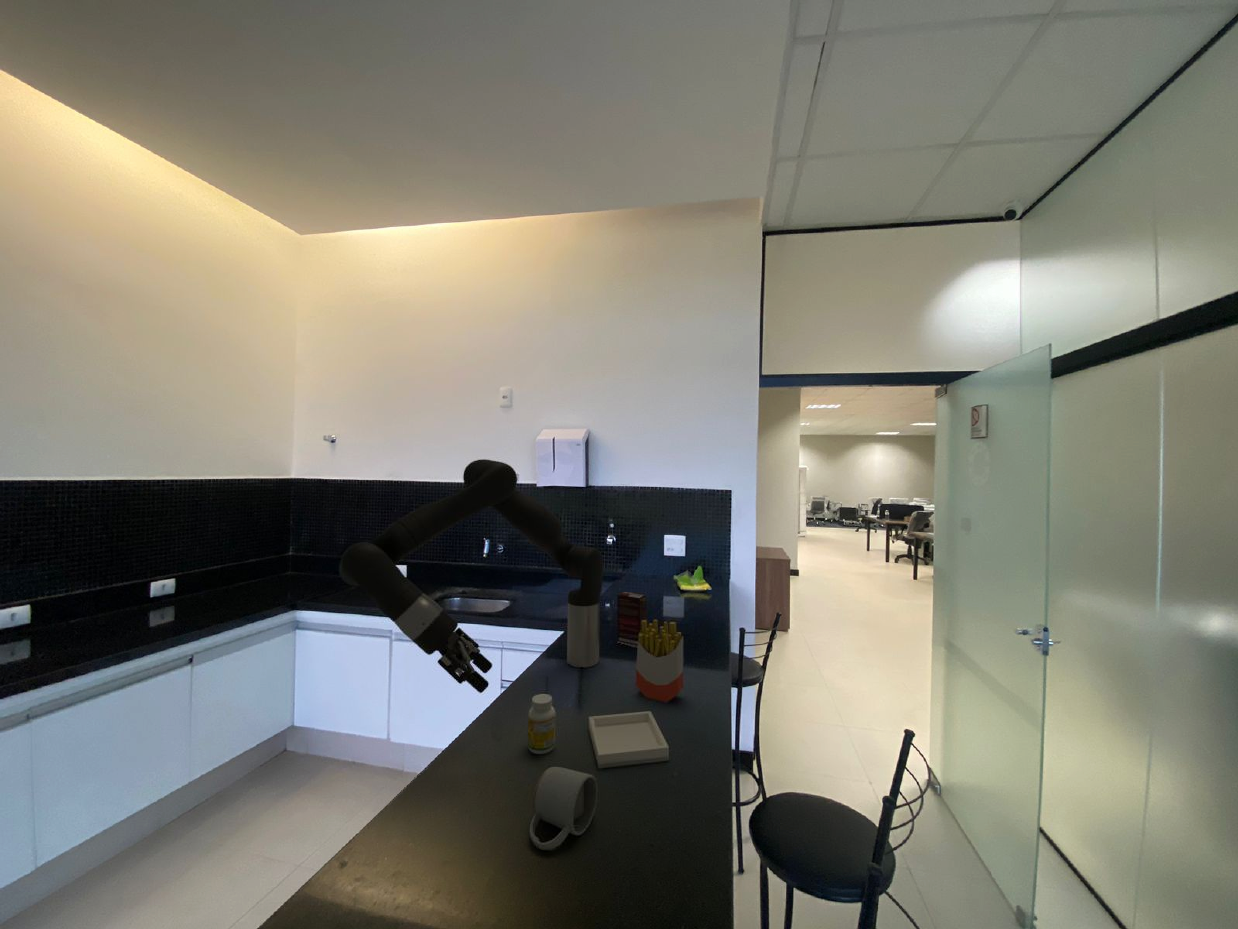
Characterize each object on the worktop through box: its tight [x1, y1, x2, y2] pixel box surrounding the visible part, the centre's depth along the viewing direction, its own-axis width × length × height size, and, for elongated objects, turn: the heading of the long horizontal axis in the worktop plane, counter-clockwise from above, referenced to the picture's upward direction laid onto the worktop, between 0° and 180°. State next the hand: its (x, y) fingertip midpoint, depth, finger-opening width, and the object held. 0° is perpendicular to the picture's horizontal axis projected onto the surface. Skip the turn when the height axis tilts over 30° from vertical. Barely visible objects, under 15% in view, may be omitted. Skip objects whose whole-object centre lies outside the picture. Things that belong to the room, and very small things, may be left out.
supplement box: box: [616, 591, 648, 649], centre depth 148 cm, size 9×5×16 cm, turn 58°
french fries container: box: [635, 619, 684, 703], centre depth 114 cm, size 5×11×18 cm, turn 66°
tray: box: [588, 710, 670, 769], centre depth 94 cm, size 14×14×2 cm
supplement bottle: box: [527, 693, 556, 755], centre depth 93 cm, size 5×5×10 cm
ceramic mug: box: [529, 766, 598, 849], centre depth 72 cm, size 11×8×8 cm
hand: (487, 678), depth 91 cm, fingers open, 8 cm apart
